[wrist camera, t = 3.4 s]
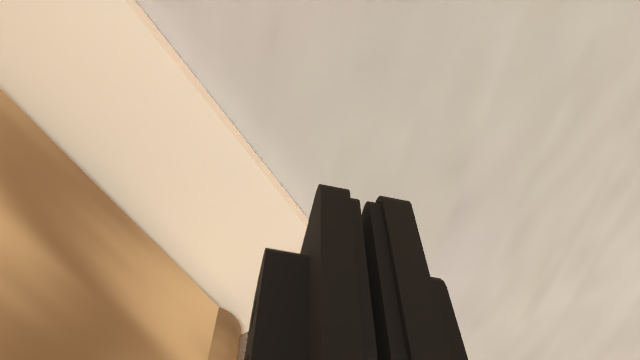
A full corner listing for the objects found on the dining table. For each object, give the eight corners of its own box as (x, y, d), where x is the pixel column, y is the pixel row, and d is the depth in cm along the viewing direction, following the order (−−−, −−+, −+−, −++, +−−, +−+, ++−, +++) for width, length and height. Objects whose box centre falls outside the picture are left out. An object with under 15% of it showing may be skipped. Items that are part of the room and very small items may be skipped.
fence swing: (-87, 95, 11) (-367, 266, 7) (-30, 50, 11) (-287, 201, 6) (203, 359, 16) (155, 574, 11) (254, 335, 15) (226, 550, 10)
